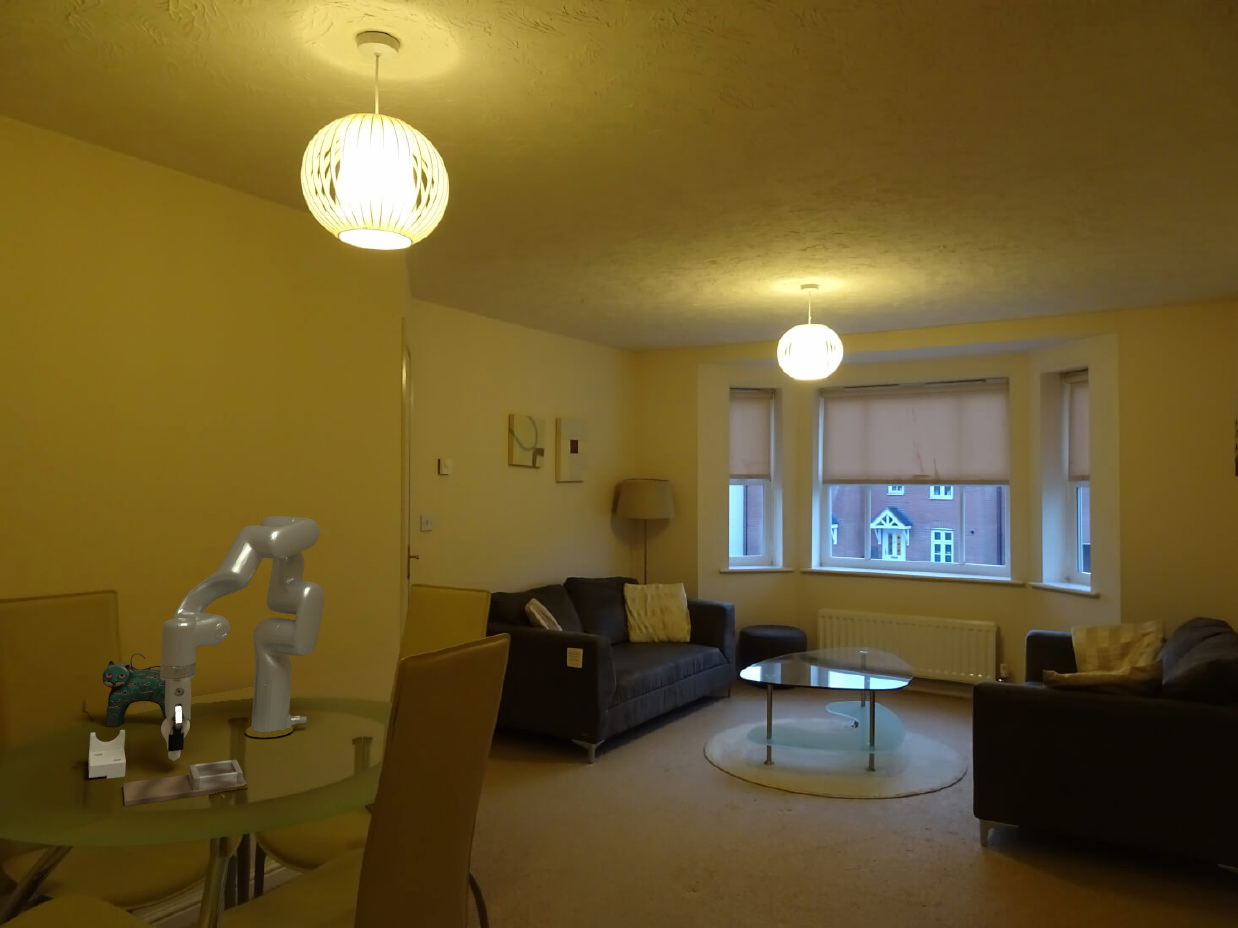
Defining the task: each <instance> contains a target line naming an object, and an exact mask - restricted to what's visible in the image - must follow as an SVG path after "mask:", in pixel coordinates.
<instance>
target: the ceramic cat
mask: <svg viewBox="0 0 1238 928" xmlns="http://www.w3.org/2000/svg"><path fill="white" fill-rule="evenodd" d="M137 655H138V656H140V657H142V658H143V659H146V657H145V656H144V654H143V653H139V652H138V653H134V654H132V655H131V658H130V663H127V662H119V663H115V661H113V660H110V661H108V664H107V667H106V668H105V669H104V670H103V672H102V679H101V680H102V681H103V685H105V686H106V687H108V688H110V692H109V694H108V698H107V707H106V710H105V711H106V724H105V727H106V728H108V727H109V728H117V727H121V726H122V725H123V724H125V715H126V713H127V710H128V708H129V706H130V705H132V704H134V703H138V702H151V703H154V704H157V705H158V706H159V708H160V710H161V713H162V718H163V721H164V720H165V719H166V718H167V717H166V713H165V680H162V679H160V669H158V668H160V667H161V665H154V666H149V667H146V668H143V669H142V668H141V669H138V668H136V667H134V666H133V662H132V660H133V657H134V656H137Z"/></svg>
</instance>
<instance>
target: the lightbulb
mask: <svg viewBox="0 0 1238 928" xmlns="http://www.w3.org/2000/svg"><path fill="white" fill-rule="evenodd" d="M172 721H175V718H173V720H172ZM174 725H175V723H173V726H174ZM190 728H191V723H190V720H187V719H185V717H184V739H186V736H187V735H188V732H190ZM160 732H161V734H162V736H163V738H164V739H165V743H166V742H167V743H166V749H167V751H168V739H169V734H170V722H168V720H167V718H166V719H165V720H164V719H163V722H162V723H161V728H160ZM181 752H182V750H178V751H170V752H169V751H168V752H167V756H168V759H169V760H171V761H177V760H178V759H179V758H181Z"/></svg>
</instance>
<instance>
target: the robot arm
mask: <svg viewBox="0 0 1238 928" xmlns="http://www.w3.org/2000/svg"><path fill="white" fill-rule="evenodd" d="M320 532H321V531H320V526H319V524H318V522H316V521H315V520H314V519H312V518H309V517H301V516H299V517H297V516H289V515H287V516H286V515H270V516H266V517H265V518H263V519H262V520H261V522H260V523H259V525H254V524H253V525H247V526H245V527H243V528H241V529H240V531H239V532H238V533H237V535H236V537H235V538H234V540H233V542H232V544H231V545H230V547H229V549H228V550H227V552H226V554H225V555H224V558H223V559H222V561H221V563H220V565H219V566H218V568H217V569H216V571H215V572H214V573H212V574H211V575H209V576H208V577H206V578H204V580H202V581H201V582H200V583H198V584H197V585H196V586H194V587H193V588H192V589H190V591H188V592H187V594H185V596H184V597H183V598H182V600H181V602H180V603H179V605H178V607H177V609H176V611H175V612H174V614H173V616H172V618H170V619H168V620H166V621H164V622H163V624H162V628H161V629H162V630H161V646H160V649H161V650H160V666H161V667H159V668H160V679H162V680H165V713H166V717H167V720H168V722H170V734H169V739H168V750H167V751H169V752H170V751H178V750H181V751H183V750H184V741H185V738H184V717H185V719H187V720H189V721H190V720H191V713H192V712H191V709H192V708H191V707H192V704H191V703H192V702H191V701H192V679H193V678H194V677H196V669H197V668H196V666H197V649H198V648H199V647H203V646H204V647H206V646H215V645H219V644H220V643H223V641H224V642H225V640H226V639H227V638H228V636H229V635H230V634H231V633H230V632H231V624H230V621H229V620H228V619H227V618H226V617H225V616H223V615H219V614H215V613H208V612H204V611H205V609H206V608H207V607H208V606H210V605H211V604H212V603H213V602H214V601H217V600H219V599H221V598H222V597H225V596H228V595H231V594H233V593H237V592H238V591H242V590H244V589H246V588H247V587H248V586H249V585H250V583H251V581H252V579H253V577H254V575H255V573H256V572H257V570H258V568H259V567H260V564H261V562H262V561H263V559H272V564H271V571H270V576H269V582H268V588H267V592H266V593H267V594H266V601H265V602H266V606H267V608H268V609H269V610H270V611H272V612H273V613H274V612H275V613H278V614H287V615H295V619H293V618H292V619H291V618H286V617H266V618H264V619H262V620H261V621H259V622H258V623H257V624H256V626H255V628H254V630H253V634H252V640H253V648H254V654H255V655H254V658H255V662H254V663H255V664H254V665H255V666H254V667H255V668H254V679H253V680H254V682H253V695H252V697H253V698H252V710H251V711H252V712H251V729H252V730H255V731H259V732H271V731H276V730H284V729H286V728H291V726H295V725H297V724H300V725H301V724H306V723H307V715H304V716H302V715H292V714H290V703H291V690H292V674H293V673H292V672H293V667H292V661H291V659H290V656H296V657H305V656H308V655H309V654H311V653H312V652H313V651H314V649H315V648H316V645H317V642H318V639H319V636H320V635H319V633H320V630H321V623H322V618H323V613H324V612H323V611H324V606H325V594H324V590H323V588H322V587H321V585H320V584H319V583H317V582H314V581H311V580H310V581H308V580H304V571H305V558H304V555H303V552H304V551H306V550H307V551H308V550H309V549H311V548H313V546H315V545H316V544H317V542H318V540H319V538H320V535H321V533H320ZM173 718H175V721H172V720H173ZM173 723H175V725H174V726H173ZM165 743H166V744H167V742H166V741H165Z"/></svg>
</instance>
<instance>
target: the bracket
mask: <svg viewBox="0 0 1238 928" xmlns="http://www.w3.org/2000/svg"><path fill="white" fill-rule="evenodd" d="M125 740H126V730H125V729H120V730H119V733H118V735H117V736H116V737H115V738H114V739H112V740H110V741H102V740H99V738H98V737H97V736H96V732H90V735H89V749H88V750H89V751H88V778H89V779H90V778H99V777H106V779H115V778H123V777H126V766H127V762H126V761H127V760H126V755H125V753H126V752H125Z"/></svg>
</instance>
